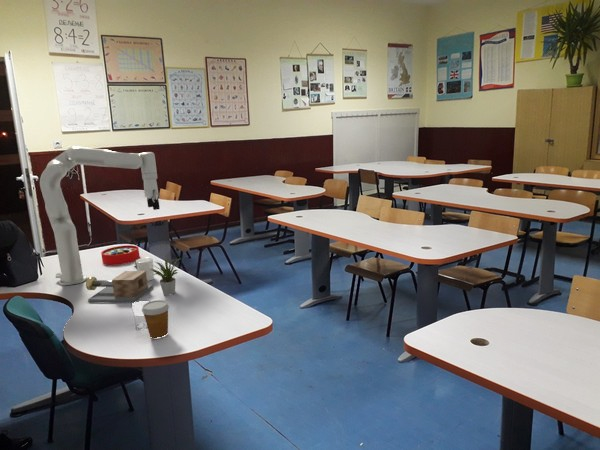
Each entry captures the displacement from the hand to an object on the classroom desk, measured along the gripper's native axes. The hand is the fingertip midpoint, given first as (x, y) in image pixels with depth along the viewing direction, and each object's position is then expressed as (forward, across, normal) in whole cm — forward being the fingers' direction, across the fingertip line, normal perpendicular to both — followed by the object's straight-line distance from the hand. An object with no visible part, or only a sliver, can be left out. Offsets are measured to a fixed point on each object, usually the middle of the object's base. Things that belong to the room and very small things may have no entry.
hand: (153, 208), depth 259 cm
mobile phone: (+31, +3, -11) cm, 33 cm away
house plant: (+31, +47, -10) cm, 57 cm away
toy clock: (+31, -24, -15) cm, 42 cm away
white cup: (+31, +21, -14) cm, 40 cm away
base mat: (+31, +36, -29) cm, 55 cm away
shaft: (+28, +32, -34) cm, 54 cm away
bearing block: (+29, +39, -25) cm, 55 cm away
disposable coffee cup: (+31, +89, -28) cm, 98 cm away
